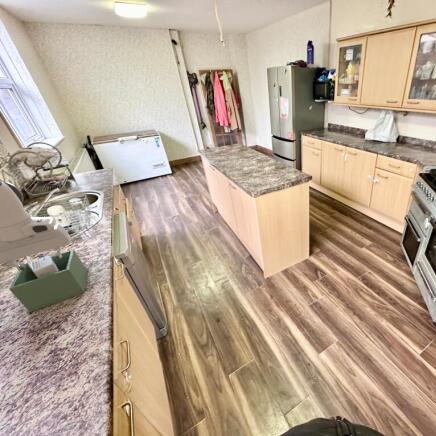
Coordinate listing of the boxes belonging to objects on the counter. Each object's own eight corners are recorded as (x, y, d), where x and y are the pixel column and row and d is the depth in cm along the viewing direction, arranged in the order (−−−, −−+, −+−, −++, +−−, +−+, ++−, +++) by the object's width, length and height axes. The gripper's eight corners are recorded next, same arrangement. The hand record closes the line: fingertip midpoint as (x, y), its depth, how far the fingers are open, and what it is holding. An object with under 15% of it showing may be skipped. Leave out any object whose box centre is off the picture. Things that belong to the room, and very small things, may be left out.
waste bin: (29, 312, 78) (8, 289, 72) (39, 286, 88) (22, 264, 83) (84, 292, 85) (68, 269, 79) (87, 270, 95) (73, 249, 90)
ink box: (70, 289, 85) (47, 257, 78) (52, 297, 82) (27, 265, 75) (66, 278, 90) (44, 247, 83) (49, 286, 87) (25, 254, 80)
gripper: (-37, 246, 66) (-5, 281, 73) (56, 223, 76) (77, 256, 83) (-28, 236, 71) (2, 270, 78) (59, 216, 81) (79, 248, 87)
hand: (41, 263), depth 80 cm, fingers open, 8 cm apart
